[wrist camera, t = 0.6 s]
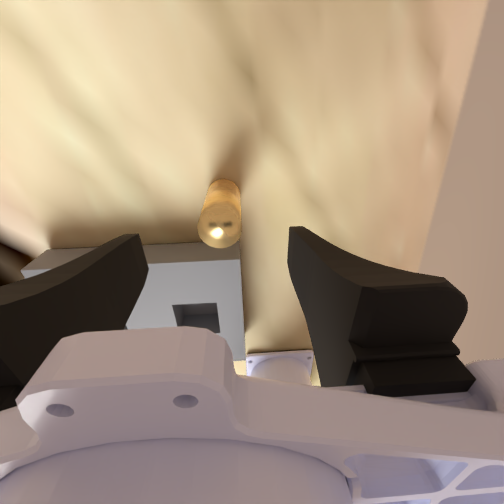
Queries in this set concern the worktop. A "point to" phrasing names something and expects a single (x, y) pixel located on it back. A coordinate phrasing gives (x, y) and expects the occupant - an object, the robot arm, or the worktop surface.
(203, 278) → the bore block
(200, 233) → the brass pin
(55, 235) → the worktop surface
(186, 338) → the robot arm
